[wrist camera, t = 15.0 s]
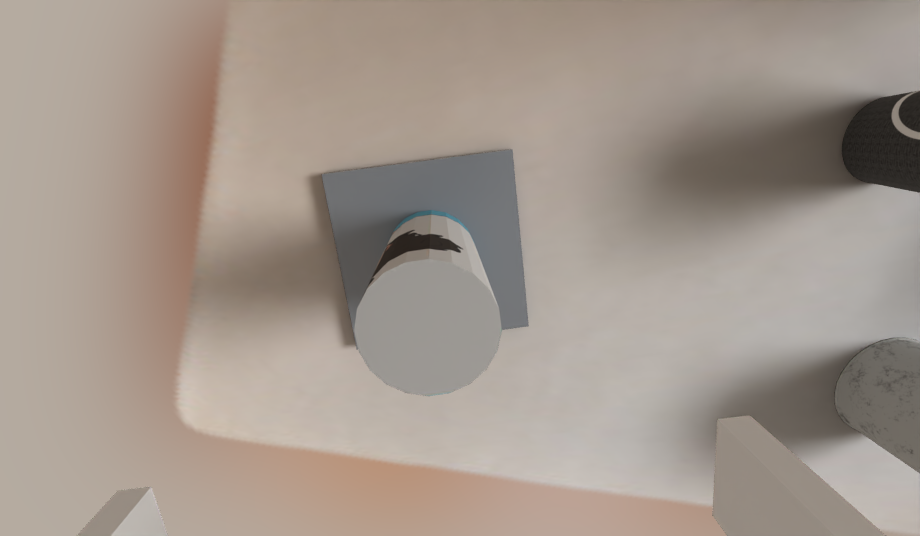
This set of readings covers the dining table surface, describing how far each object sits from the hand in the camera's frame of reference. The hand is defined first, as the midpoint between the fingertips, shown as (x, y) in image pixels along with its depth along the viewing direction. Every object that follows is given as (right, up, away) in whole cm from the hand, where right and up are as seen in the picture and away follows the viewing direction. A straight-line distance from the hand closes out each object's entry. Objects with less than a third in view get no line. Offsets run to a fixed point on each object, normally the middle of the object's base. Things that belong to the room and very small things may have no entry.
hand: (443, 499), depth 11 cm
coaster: (-2, +7, +26) cm, 27 cm away
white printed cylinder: (-2, +7, +25) cm, 26 cm away
